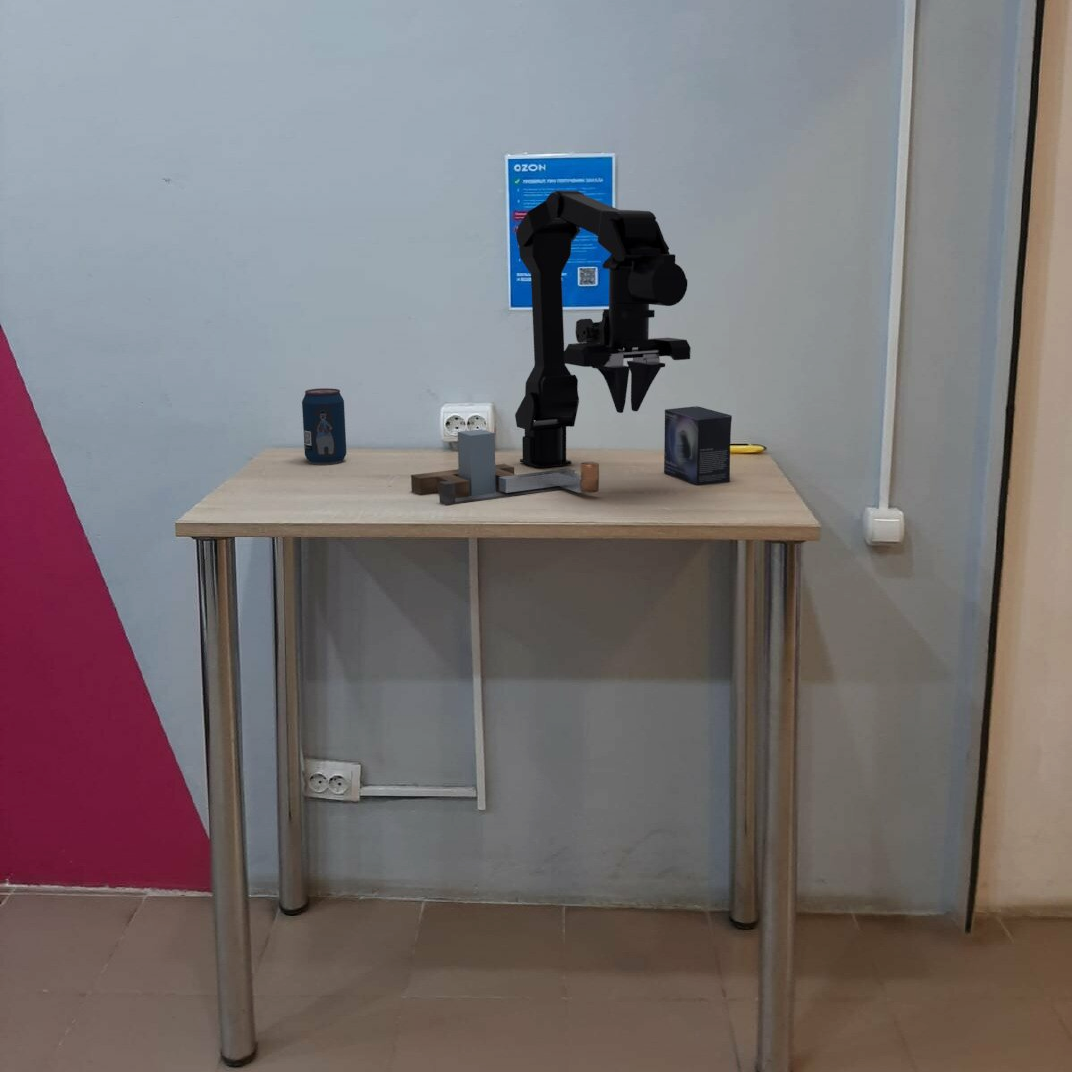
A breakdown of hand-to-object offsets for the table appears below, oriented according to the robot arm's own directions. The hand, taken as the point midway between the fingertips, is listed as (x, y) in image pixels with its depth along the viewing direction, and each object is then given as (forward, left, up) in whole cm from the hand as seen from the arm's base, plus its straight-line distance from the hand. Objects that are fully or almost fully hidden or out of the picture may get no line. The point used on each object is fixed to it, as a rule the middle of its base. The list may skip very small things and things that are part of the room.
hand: (627, 411), depth 170 cm
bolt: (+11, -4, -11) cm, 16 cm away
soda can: (+29, -47, -12) cm, 56 cm away
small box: (-15, -3, -12) cm, 20 cm away
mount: (+15, -12, -12) cm, 23 cm away
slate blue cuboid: (+19, -12, -12) cm, 25 cm away
